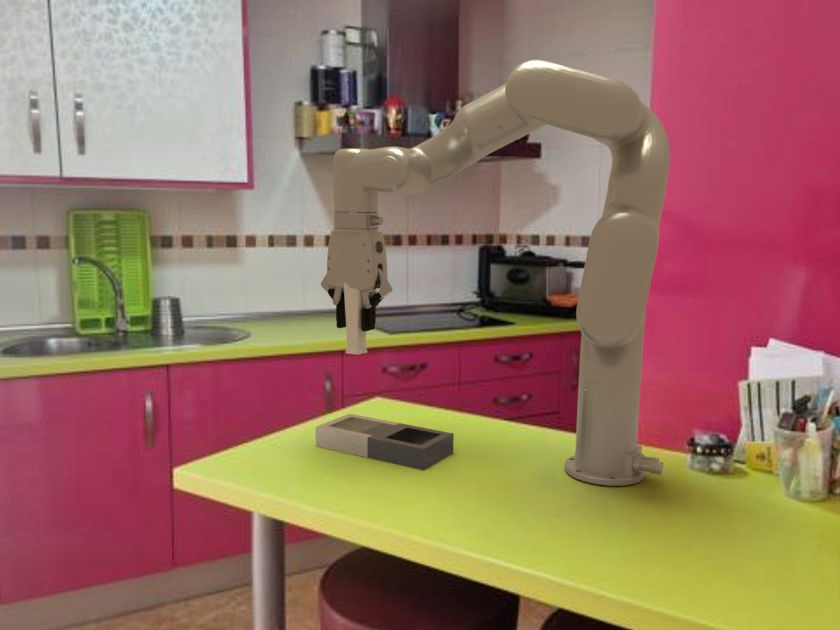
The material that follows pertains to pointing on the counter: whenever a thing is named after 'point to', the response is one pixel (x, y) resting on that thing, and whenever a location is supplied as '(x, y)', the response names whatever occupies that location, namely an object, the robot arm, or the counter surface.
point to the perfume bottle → (354, 321)
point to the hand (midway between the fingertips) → (355, 327)
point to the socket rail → (385, 440)
